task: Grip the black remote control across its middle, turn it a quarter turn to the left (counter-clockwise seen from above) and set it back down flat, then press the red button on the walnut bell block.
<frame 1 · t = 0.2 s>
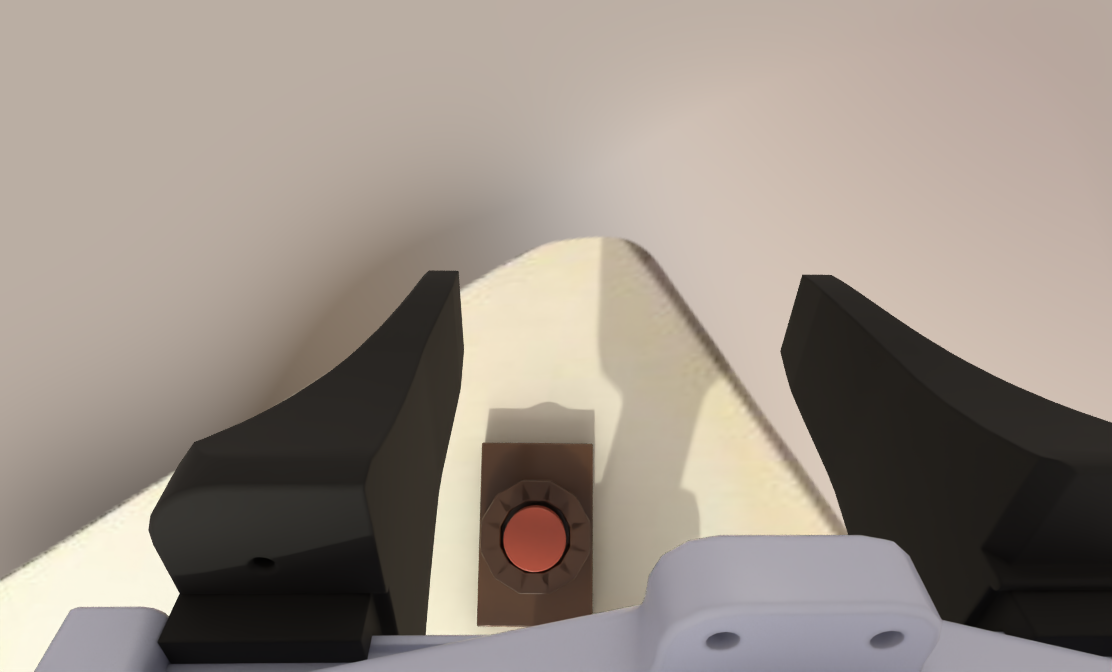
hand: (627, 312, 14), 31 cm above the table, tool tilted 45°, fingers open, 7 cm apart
bell button: (535, 537, 40), point 4 cm above the table, slide at 0.1 cm
bell block: (536, 530, 44), on the table
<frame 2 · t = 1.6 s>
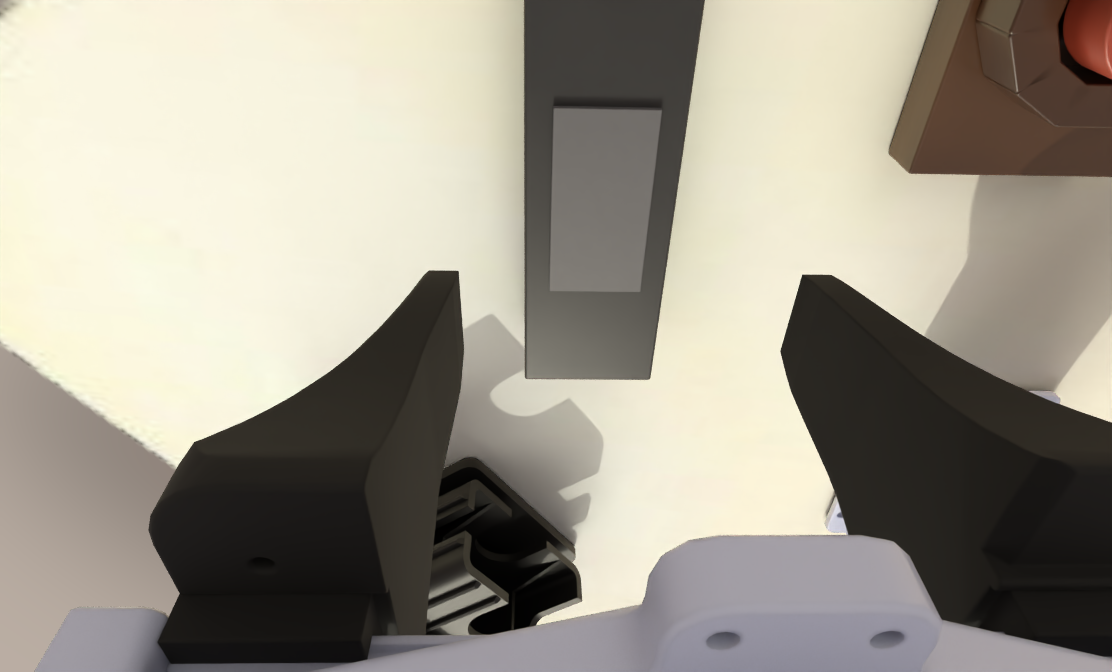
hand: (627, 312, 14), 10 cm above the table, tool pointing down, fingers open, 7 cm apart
remote: (587, 264, 26), on the table
end cap: (474, 526, 35), on the table
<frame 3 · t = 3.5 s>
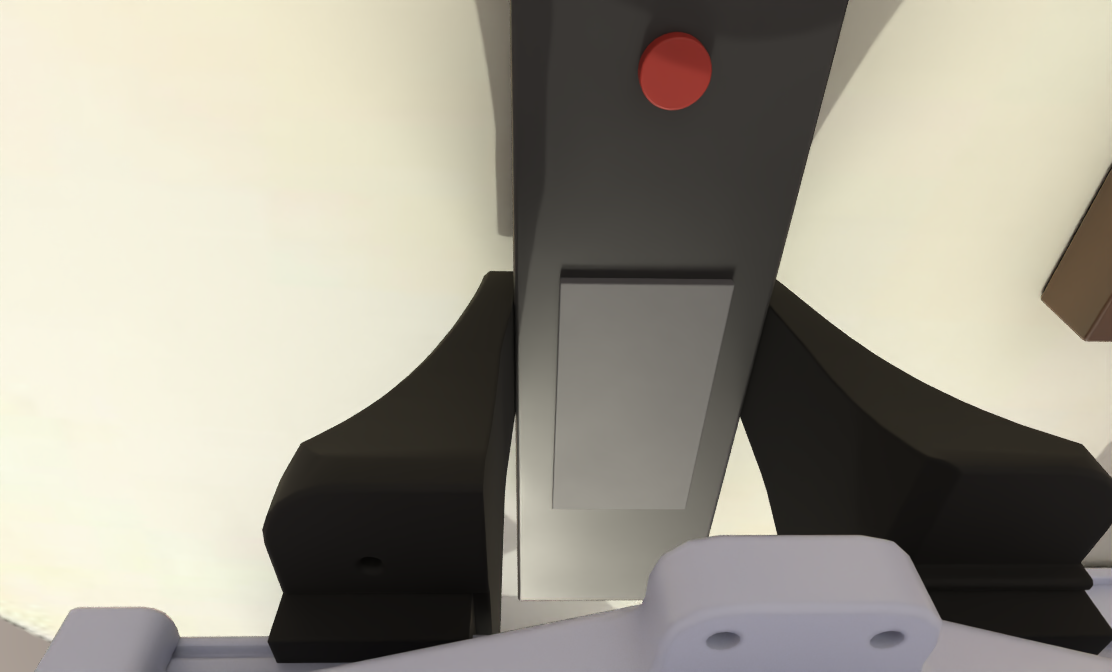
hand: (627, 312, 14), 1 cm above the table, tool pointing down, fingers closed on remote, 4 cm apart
remote: (604, 432, 19), on the table, touching gripper
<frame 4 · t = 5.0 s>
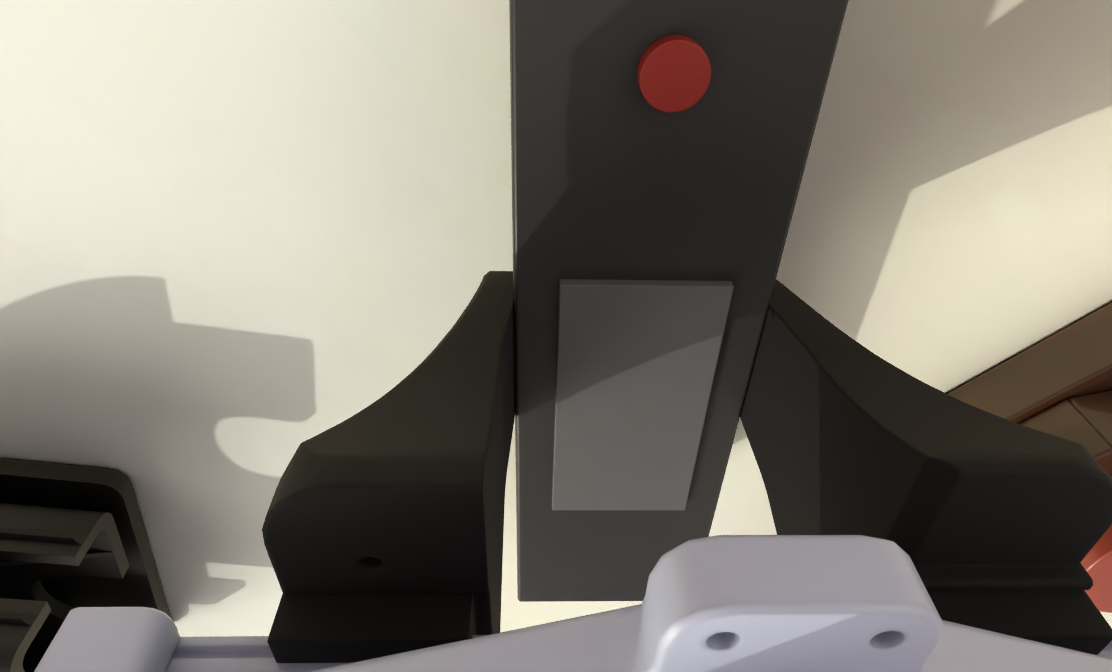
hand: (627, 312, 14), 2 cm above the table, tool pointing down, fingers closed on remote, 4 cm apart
remote: (603, 433, 19), point 1 cm above the table, touching gripper
end cap: (46, 543, 23), on the table
bell block: (1040, 430, 20), on the table
when the fingers open (1 cm above the table, at t = 6.6 s): remote stays where it is, on the table.
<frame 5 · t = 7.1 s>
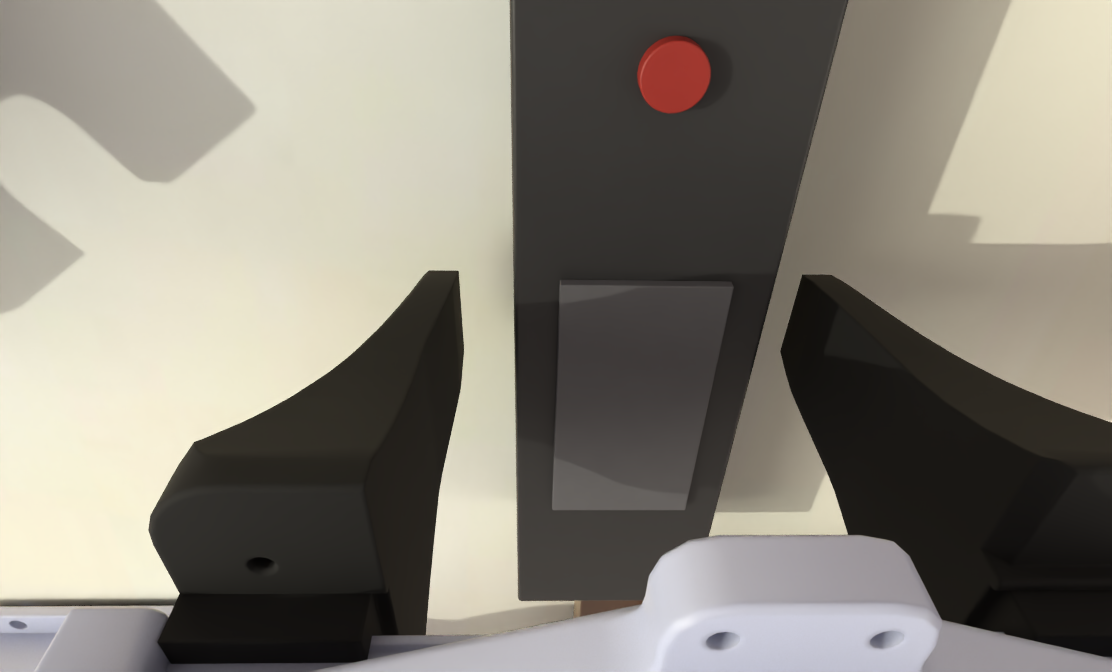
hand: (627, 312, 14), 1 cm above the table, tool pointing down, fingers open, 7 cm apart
remote: (604, 433, 19), on the table
bell block: (730, 604, 24), on the table
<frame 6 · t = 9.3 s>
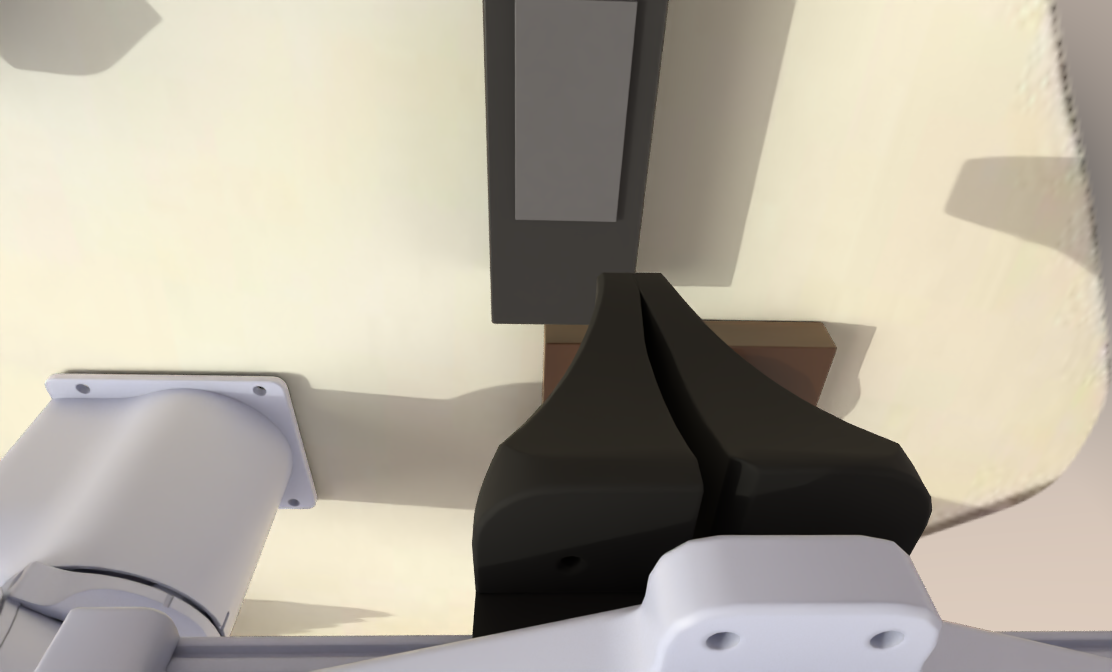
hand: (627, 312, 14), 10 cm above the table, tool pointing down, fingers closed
remote: (561, 200, 24), on the table
bell block: (672, 386, 29), on the table
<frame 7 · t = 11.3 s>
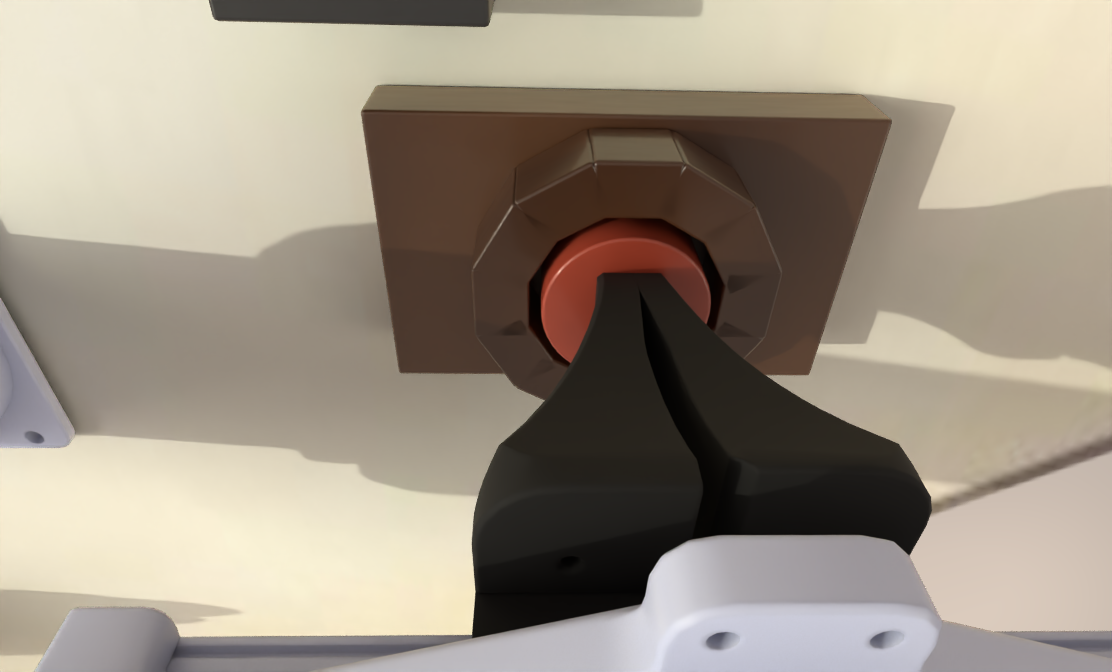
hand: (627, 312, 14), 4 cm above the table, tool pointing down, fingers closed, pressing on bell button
bell button: (622, 290, 15), point 3 cm above the table, slide at -1.0 cm, touching gripper
bell block: (610, 228, 17), on the table
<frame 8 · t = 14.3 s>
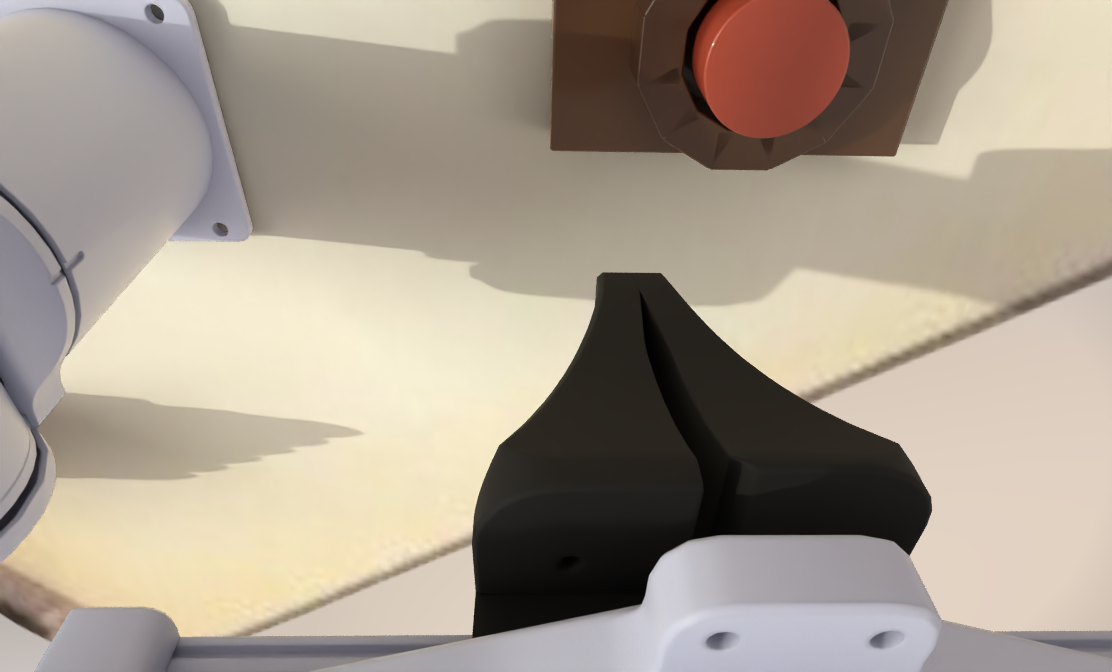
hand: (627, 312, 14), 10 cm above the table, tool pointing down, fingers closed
bell button: (767, 58, 18), point 4 cm above the table, slide at 0.1 cm
bell block: (732, 22, 21), on the table
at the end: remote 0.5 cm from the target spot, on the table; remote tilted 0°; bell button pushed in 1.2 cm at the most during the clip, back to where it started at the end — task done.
